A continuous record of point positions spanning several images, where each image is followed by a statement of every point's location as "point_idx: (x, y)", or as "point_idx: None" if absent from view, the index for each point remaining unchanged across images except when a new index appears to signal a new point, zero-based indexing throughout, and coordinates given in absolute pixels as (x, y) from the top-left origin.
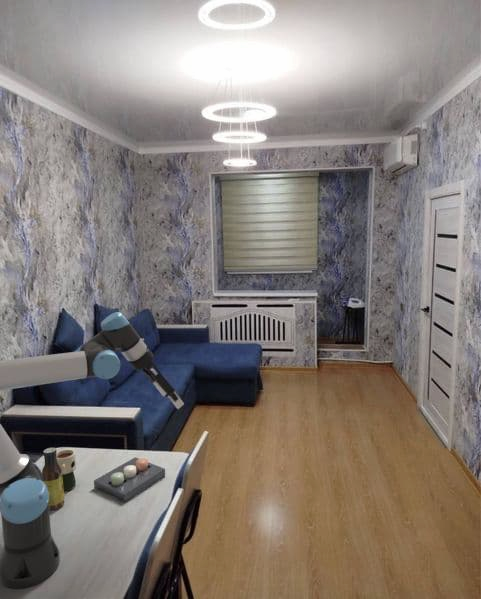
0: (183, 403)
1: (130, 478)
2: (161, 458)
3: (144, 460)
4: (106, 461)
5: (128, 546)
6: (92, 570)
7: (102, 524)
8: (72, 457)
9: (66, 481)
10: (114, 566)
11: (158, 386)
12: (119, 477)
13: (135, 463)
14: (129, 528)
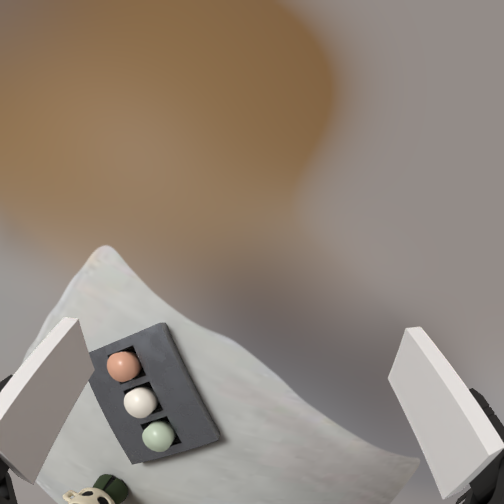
0: (421, 333)
1: (156, 405)
2: (93, 295)
3: (119, 360)
4: None
5: (349, 452)
6: (363, 495)
7: (266, 479)
8: None
9: (120, 499)
10: (376, 472)
11: (44, 427)
12: (166, 439)
13: (103, 369)
14: (306, 445)
